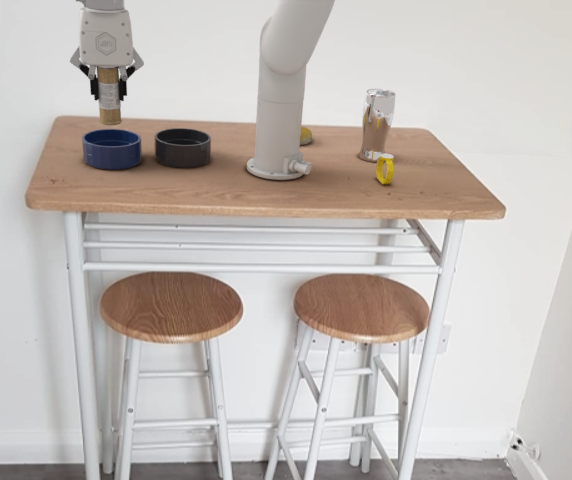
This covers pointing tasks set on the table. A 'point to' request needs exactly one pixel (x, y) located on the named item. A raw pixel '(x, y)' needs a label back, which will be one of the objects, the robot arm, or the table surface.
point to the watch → (389, 163)
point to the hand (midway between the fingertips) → (109, 97)
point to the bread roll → (305, 136)
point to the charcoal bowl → (182, 147)
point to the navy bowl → (112, 149)
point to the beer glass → (376, 122)
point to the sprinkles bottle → (109, 95)
